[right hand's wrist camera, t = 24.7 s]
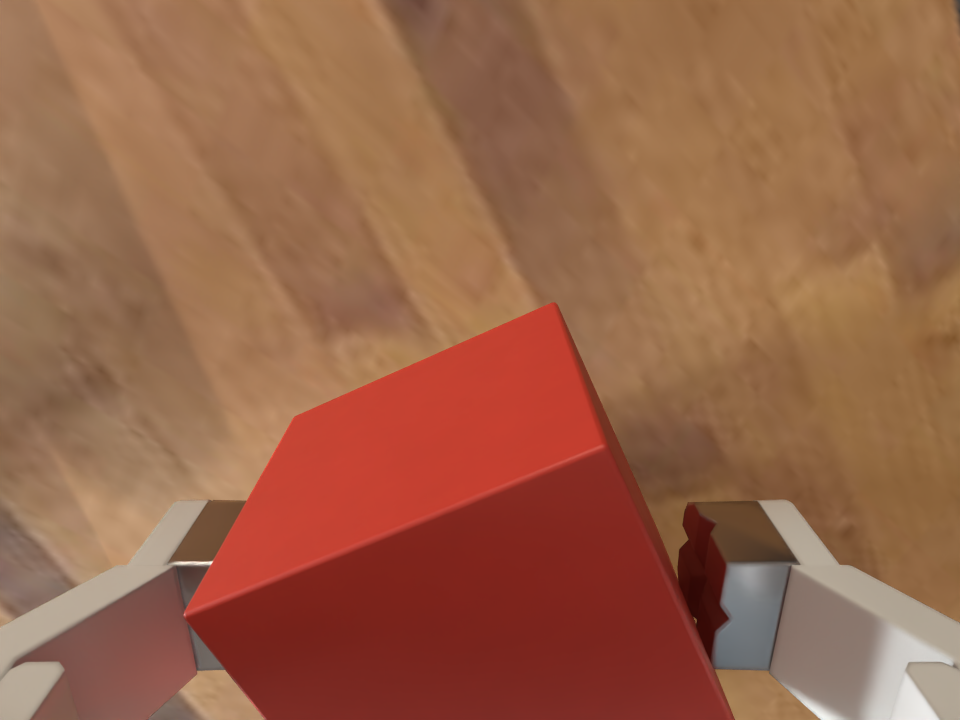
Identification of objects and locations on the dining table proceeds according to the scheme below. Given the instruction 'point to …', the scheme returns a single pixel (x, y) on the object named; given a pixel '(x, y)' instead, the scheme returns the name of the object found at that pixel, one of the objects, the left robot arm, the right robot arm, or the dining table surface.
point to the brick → (457, 554)
